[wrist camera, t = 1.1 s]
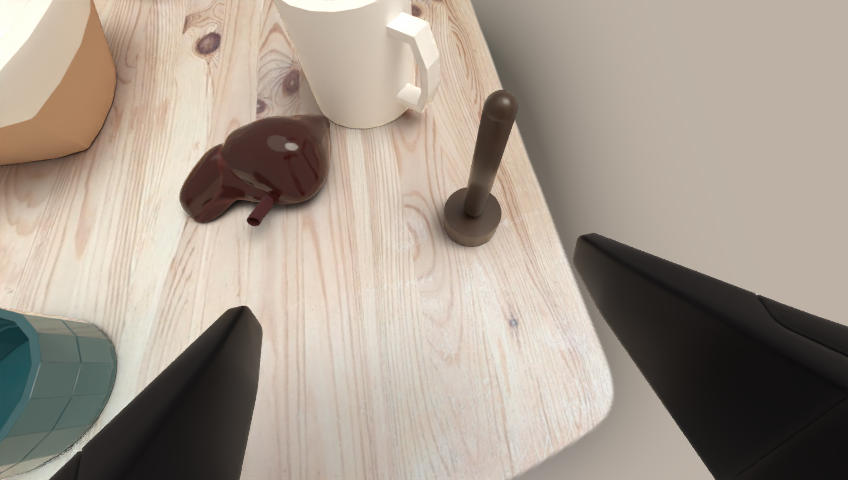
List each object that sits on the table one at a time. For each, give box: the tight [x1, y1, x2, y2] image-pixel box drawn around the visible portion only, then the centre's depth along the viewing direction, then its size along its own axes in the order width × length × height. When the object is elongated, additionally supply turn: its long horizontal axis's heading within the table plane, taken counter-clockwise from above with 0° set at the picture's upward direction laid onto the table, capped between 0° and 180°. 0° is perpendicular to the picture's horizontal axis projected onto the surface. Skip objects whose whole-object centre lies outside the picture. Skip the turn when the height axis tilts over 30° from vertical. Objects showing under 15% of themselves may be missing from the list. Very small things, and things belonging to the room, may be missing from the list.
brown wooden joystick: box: [444, 90, 518, 246], centre depth 20 cm, size 4×4×13 cm
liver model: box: [179, 114, 331, 226], centre depth 26 cm, size 6×12×11 cm
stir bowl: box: [0, 308, 117, 479], centre depth 19 cm, size 9×9×5 cm
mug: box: [274, 0, 440, 129], centre depth 27 cm, size 14×10×11 cm
